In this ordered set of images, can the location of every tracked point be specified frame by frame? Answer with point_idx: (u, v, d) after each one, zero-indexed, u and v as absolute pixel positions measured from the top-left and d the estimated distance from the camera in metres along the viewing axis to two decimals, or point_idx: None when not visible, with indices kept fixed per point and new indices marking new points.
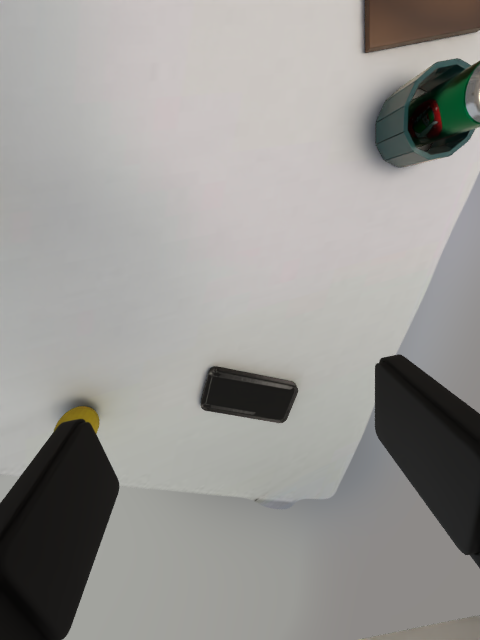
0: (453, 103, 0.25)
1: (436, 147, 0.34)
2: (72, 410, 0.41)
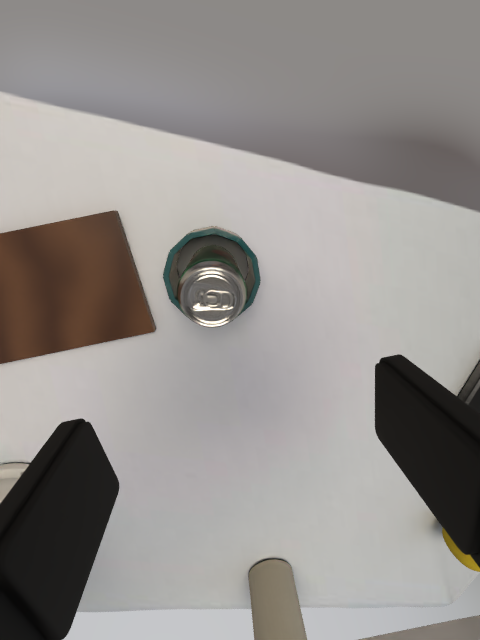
0: None
1: None
2: (446, 541, 0.46)
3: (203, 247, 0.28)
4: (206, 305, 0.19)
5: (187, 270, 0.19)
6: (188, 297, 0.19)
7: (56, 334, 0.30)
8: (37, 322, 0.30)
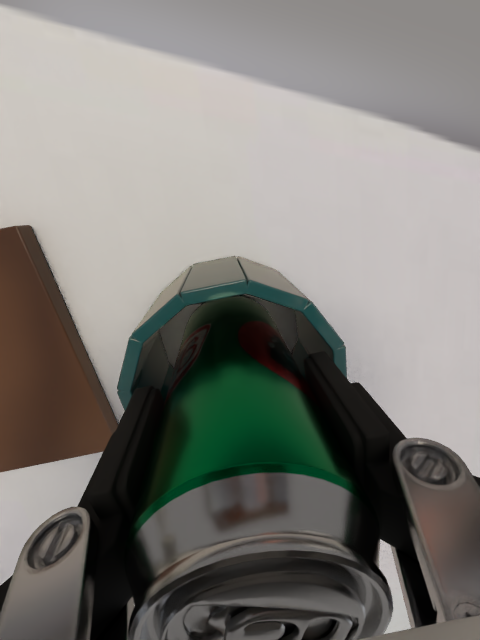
0: None
1: None
2: None
3: (213, 301, 0.14)
4: None
5: (161, 507, 0.05)
6: None
7: None
8: None
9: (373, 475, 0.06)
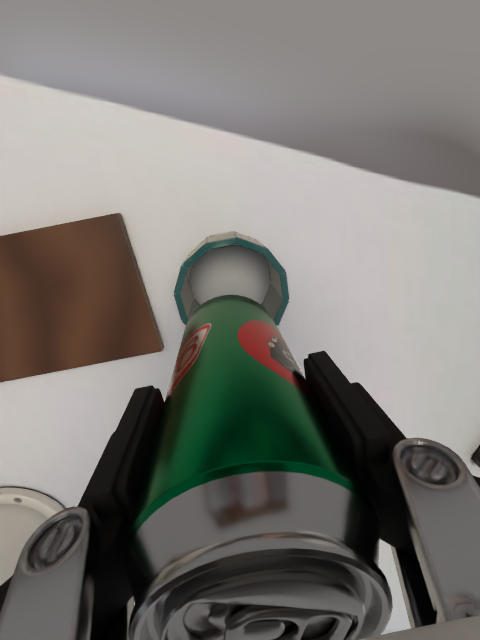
0: None
1: None
2: None
3: (213, 301, 0.14)
4: None
5: (161, 506, 0.05)
6: (165, 638, 0.04)
7: (51, 353, 0.27)
8: (29, 339, 0.26)
9: (373, 475, 0.06)
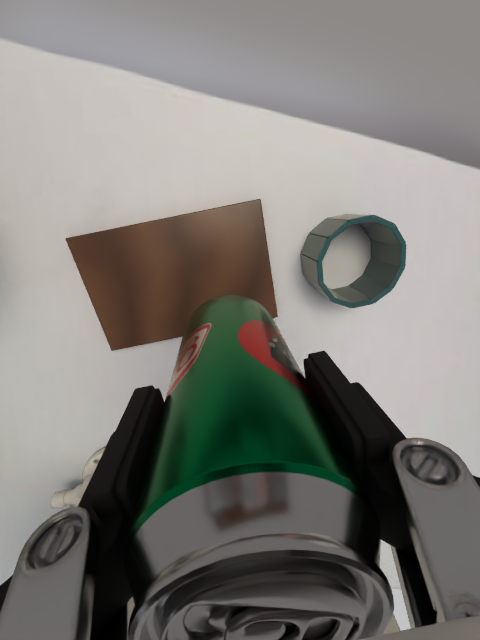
0: None
1: (370, 228, 0.29)
2: None
3: (213, 301, 0.14)
4: None
5: (161, 507, 0.05)
6: (165, 639, 0.04)
7: (187, 318, 0.32)
8: (172, 307, 0.31)
9: (373, 475, 0.06)
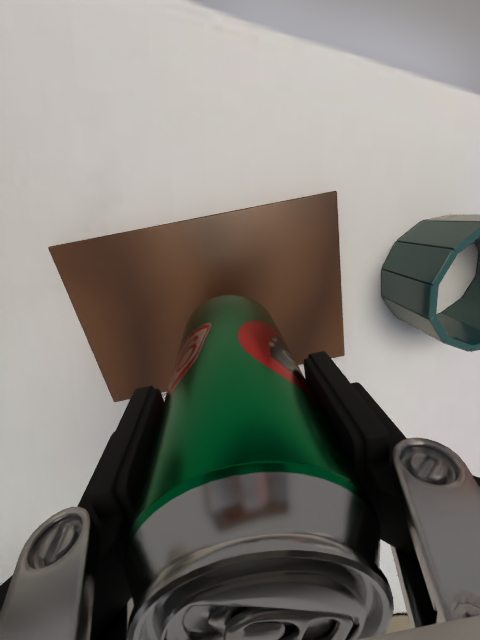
0: None
1: None
2: None
3: (213, 301, 0.14)
4: None
5: (161, 507, 0.05)
6: None
7: None
8: None
9: (373, 475, 0.06)
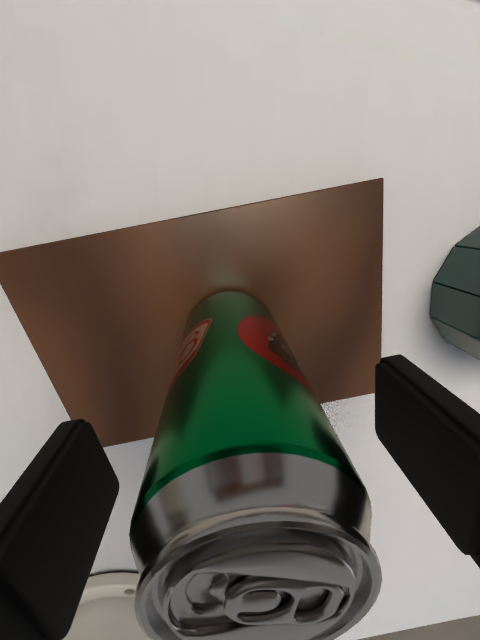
0: None
1: None
2: None
3: (213, 297, 0.14)
4: (238, 614, 0.05)
5: (165, 485, 0.05)
6: (169, 607, 0.05)
7: None
8: None
9: None
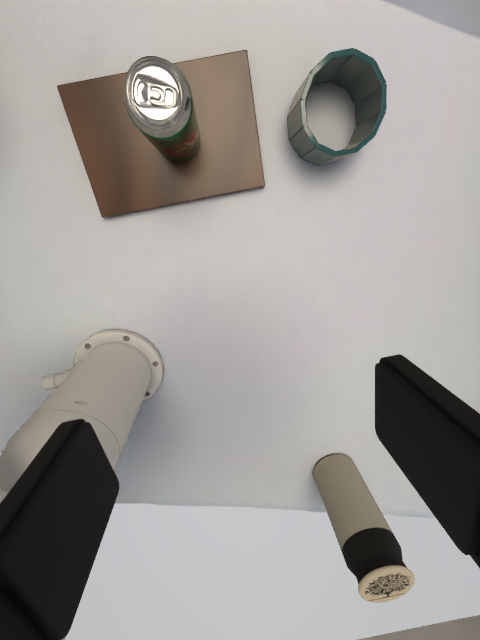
0: (172, 141, 0.23)
1: (353, 86, 0.30)
2: None
3: None
4: (150, 102, 0.20)
5: None
6: (132, 90, 0.19)
7: (176, 183, 0.32)
8: (161, 169, 0.32)
9: None
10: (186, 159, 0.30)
